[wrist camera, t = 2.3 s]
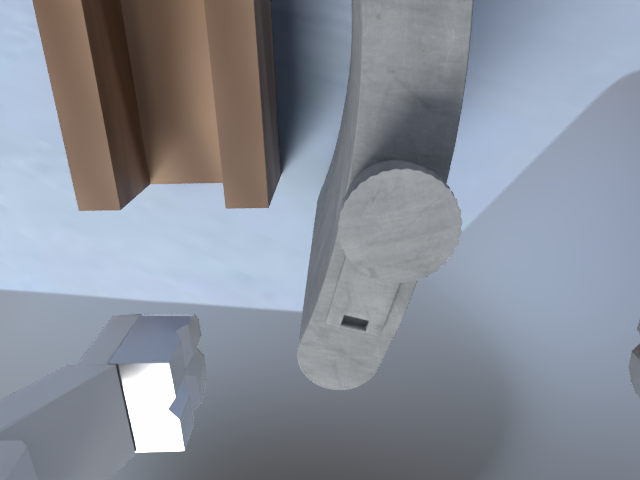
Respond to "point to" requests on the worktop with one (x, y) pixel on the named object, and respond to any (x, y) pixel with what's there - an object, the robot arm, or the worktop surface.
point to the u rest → (164, 96)
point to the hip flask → (385, 185)
